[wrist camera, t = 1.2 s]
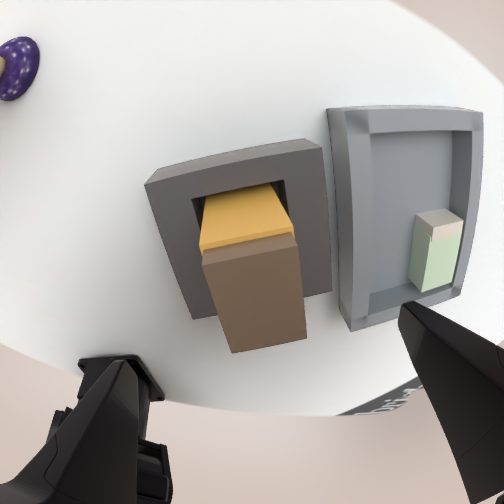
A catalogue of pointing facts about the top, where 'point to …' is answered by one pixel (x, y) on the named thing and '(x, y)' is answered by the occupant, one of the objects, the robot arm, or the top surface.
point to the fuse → (434, 248)
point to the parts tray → (399, 199)
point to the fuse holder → (233, 177)
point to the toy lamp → (17, 66)
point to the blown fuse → (253, 268)
